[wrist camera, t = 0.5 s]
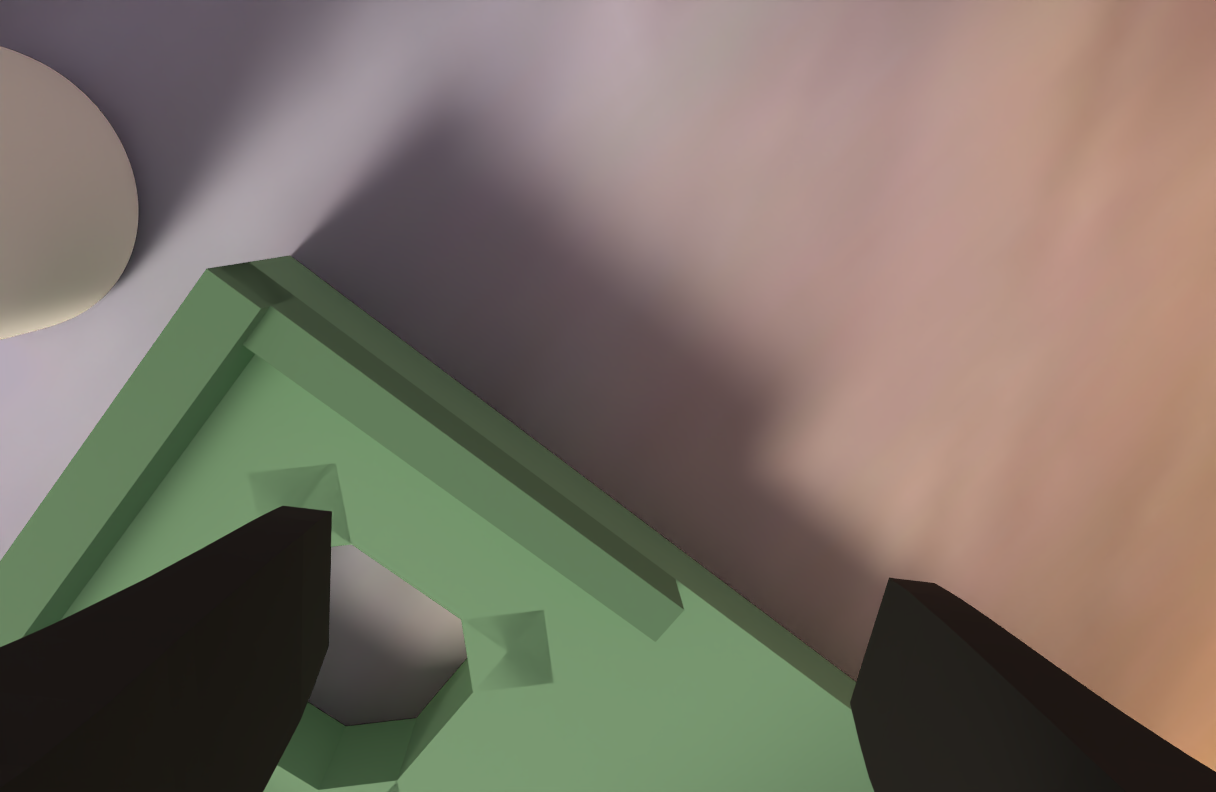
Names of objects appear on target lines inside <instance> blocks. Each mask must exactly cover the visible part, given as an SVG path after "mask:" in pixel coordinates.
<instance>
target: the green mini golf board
mask: <svg viewBox="0 0 1216 792" xmlns="http://www.w3.org/2000/svg"><path fill="white" fill-rule="evenodd" d="M281 506H291V507H299V508H308V509H316V510H325V511H332V531H331V547H333V546H342V545H351V544H352V545H353V546H355V547H356V548H358V549H359V550H360V551H362V552H363V553H365V554H366V555H368V556H369V557H371V558H372V559H374V560H375V561H377V562H378V563H379V564H381V565H382V566H384V567H385V568H387V569H388V570H390V571H391V572H393V573H394V574H395V575H397V576H398V577H400V578H401V579H403V580H404V581H406V582H407V583H409V584H410V585H412V586H413V587H414V588H416V589H417V590H419V591H420V592H422V593H423V594H425V595H426V596H428V597H429V598H430V599H432V600H433V601H435V602H436V603H438V604H439V605H441V606H442V607H444V608H445V609H447V610H448V611H449V612H451V613H452V614H454V615H455V616H457V617H458V618H460V619H461V621H462V627H463V634H464V640H465V646H466V652H467V659H466V660H465V661H464V662H463V664H462V665H461V666H460V667H459V668H458V669H457V671H456V672H455V673H454V674H453V675H452V677H451V678H450V679H449V680H448V681H447V682H446V684H445V685H444V686H443V687H442V688H441V689H440V691H439V692H438V693H437V694H436V695H435V697H434V698H433V699H432V700H431V701H430V702H429V704H428V705H427V706H426V707H425V708H424V709H423V711H422V712H421V713H420V714H419V715H418V717H417V718H413V719H404V720H396V721H387V722H379V723H370V724H362V725H354V726H344V725H343V724H341V723H340V722H338V721H336V720H335V719H333V718H332V717H330V716H329V715H327V714H325V713H324V712H322V711H321V710H319V709H318V708H316V707H314V706H313V705H311V704H310V703H307V705H306V708H305V710H304V713H303V715H302V718H301V720H300V722H299V724H298V726H297V728H296V730H295V732H294V734H293V736H292V738H291V740H290V742H289V744H288V746H287V747H286V749H285V751H284V753H283V755H282V757H281V759H280V761H279V763H278V765H277V767H276V768H275V770H274V772H273V774H272V776H271V778H270V780H269V782H268V784H267V786H266V787H265V789H264V791H263V792H874V790H873V787H872V784H871V782H870V779H869V776H868V772H867V769H866V765H865V762H864V758H863V754H862V751H861V747H860V743H859V739H858V735H857V731H856V727H855V722H854V718H853V714H852V710H851V706H850V701H851V698H852V694H853V691H854V688H855V685H856V682H855V681H854V680H853V679H851V678H850V677H849V676H847V675H846V674H845V673H843V672H842V671H841V670H839V669H838V668H837V667H835V666H834V665H833V664H831V663H830V662H829V661H827V660H826V659H825V658H823V657H822V656H821V655H819V654H818V653H817V652H815V651H814V650H813V649H811V648H810V647H809V646H807V645H806V644H805V643H803V642H802V641H801V640H799V639H798V638H797V637H795V636H794V635H793V634H792V633H790V632H789V631H788V630H786V629H785V628H784V627H782V626H781V625H780V624H778V623H777V622H776V621H774V620H773V619H772V618H770V617H769V616H768V615H766V614H765V613H764V612H762V611H761V610H760V609H758V608H757V607H756V606H754V605H753V604H752V603H750V602H749V601H748V600H746V599H745V598H744V597H742V596H741V595H740V594H738V593H737V592H736V591H734V590H733V589H732V588H730V587H729V586H728V585H727V584H725V583H724V582H723V581H721V580H720V579H719V578H717V577H716V576H715V575H713V574H712V573H711V572H709V571H708V570H707V569H705V568H704V567H703V566H701V565H700V564H699V563H697V562H696V561H695V560H693V559H692V558H691V557H689V556H688V555H687V554H685V553H684V552H683V551H681V550H680V549H679V548H677V547H676V546H675V545H673V544H672V543H671V542H669V541H668V540H667V539H665V538H664V537H663V536H661V535H660V534H659V533H658V532H656V531H655V530H654V529H652V528H651V527H650V526H648V525H647V524H646V523H644V522H643V521H642V520H640V519H639V518H638V517H636V516H635V515H634V514H632V513H631V512H630V511H628V510H627V509H626V508H624V507H623V506H622V505H620V504H619V503H618V502H616V501H615V500H614V499H612V498H611V497H610V496H608V495H607V494H606V493H604V492H603V491H602V490H600V489H599V488H598V487H596V486H595V485H594V484H593V483H591V482H590V481H589V480H587V479H586V478H585V477H583V476H582V475H581V474H579V473H578V472H577V471H575V470H574V469H573V468H571V467H570V466H569V465H567V464H566V463H565V462H563V461H562V460H561V459H559V458H558V457H557V456H555V455H554V454H553V453H551V452H550V451H549V450H547V449H546V448H545V447H543V446H542V445H541V444H539V443H538V442H537V441H535V440H534V439H533V438H531V437H530V436H529V435H527V434H526V433H525V432H524V431H522V430H521V429H520V428H518V427H517V426H516V425H514V424H513V423H512V422H510V421H509V420H508V419H506V418H505V417H504V416H502V415H501V414H500V413H498V412H497V411H496V410H494V409H493V408H492V407H490V406H489V405H488V404H486V403H485V402H484V401H482V400H481V399H480V398H478V397H477V396H476V395H474V394H473V393H472V392H470V391H469V390H468V389H466V388H465V387H464V386H462V385H461V384H460V383H458V382H457V381H456V380H455V379H453V378H452V377H451V376H449V375H448V374H447V373H445V372H444V371H443V370H441V369H440V368H439V367H437V366H436V365H435V364H433V363H432V362H431V361H429V360H428V359H427V358H425V357H424V356H423V355H421V354H420V353H419V352H417V351H416V350H415V349H413V348H412V347H411V346H409V345H408V344H407V343H405V342H404V341H403V340H401V339H400V338H399V337H397V336H396V335H395V334H393V333H392V332H391V331H390V330H388V329H387V328H386V327H384V326H383V325H382V324H380V323H379V322H378V321H376V320H375V319H374V318H372V317H371V316H370V315H368V314H367V313H366V312H364V311H363V310H362V309H360V308H359V307H358V306H356V305H355V304H354V303H352V302H351V301H350V300H348V299H347V298H346V297H344V296H343V295H342V294H340V293H339V292H338V291H336V290H335V289H334V288H332V287H331V286H330V285H328V284H327V283H326V282H324V281H323V280H322V279H321V278H319V277H318V276H317V275H315V274H314V273H313V272H311V271H310V270H309V269H307V268H306V267H305V266H303V265H302V264H301V263H299V262H298V261H297V260H295V259H294V258H293V257H291V256H284V257H278V258H272V259H265V260H259V261H253V262H246V263H240V264H234V265H227V266H221V267H215V268H208V269H206V270H205V272H204V273H203V275H202V276H201V277H200V279H199V280H198V282H197V283H196V285H195V286H194V287H193V289H192V290H191V292H190V293H189V294H188V296H187V297H186V299H185V300H184V302H183V303H182V304H181V306H180V307H179V309H178V310H177V311H176V313H175V314H174V316H173V317H172V319H171V320H170V321H169V323H168V324H167V326H166V327H165V328H164V330H163V331H162V333H161V334H160V336H159V337H158V338H157V340H156V341H155V343H154V344H153V345H152V347H151V348H150V350H149V351H148V353H147V354H146V355H145V357H144V358H143V360H142V361H141V362H140V364H139V365H138V367H137V368H136V370H135V371H134V372H133V374H132V375H131V377H130V378H129V379H128V381H127V382H126V384H125V385H124V387H123V388H122V389H121V391H120V392H119V394H118V395H117V397H116V398H115V399H114V401H113V402H112V404H111V405H110V406H109V408H108V409H107V411H106V412H105V414H104V415H103V416H102V418H101V419H100V421H99V422H98V423H97V425H96V426H95V428H94V429H93V431H92V432H91V433H90V435H89V436H88V438H87V439H86V440H85V442H84V443H83V445H82V446H81V448H80V449H79V450H78V452H77V453H76V455H75V456H74V457H73V459H72V460H71V462H70V463H69V465H68V466H67V467H66V469H65V470H64V472H63V473H62V474H61V476H60V477H59V479H58V480H57V482H56V483H55V484H54V486H53V487H52V489H51V490H50V491H49V493H48V494H47V496H46V497H45V499H44V500H43V501H42V503H41V504H40V506H39V507H38V508H37V510H36V511H35V513H34V514H33V516H32V517H31V518H30V520H29V521H28V523H27V524H26V526H25V527H24V528H23V530H22V531H21V533H20V534H19V535H18V537H17V538H16V540H15V541H14V543H13V544H12V545H11V547H10V548H9V550H8V551H7V552H6V554H5V555H4V557H3V558H2V560H1V561H0V647H2V646H4V645H6V644H9V643H11V642H13V641H16V640H18V639H20V638H23V637H25V636H27V635H30V634H32V633H34V632H36V631H38V630H41V629H43V628H45V627H47V626H50V625H52V624H54V623H56V622H58V621H60V620H62V619H64V618H66V617H68V616H71V615H73V614H75V613H77V612H79V611H81V610H83V609H85V608H87V607H89V606H91V605H93V604H95V603H97V602H99V601H101V600H103V599H105V598H107V597H109V596H111V595H113V594H115V593H117V592H120V591H122V590H124V589H126V588H128V587H130V586H132V585H134V584H136V583H138V582H140V581H142V580H144V579H146V578H148V577H150V576H152V575H153V574H155V573H157V572H159V571H161V570H163V569H165V568H166V567H168V566H170V565H172V564H174V563H176V562H178V561H179V560H181V559H183V558H185V557H187V556H189V555H190V554H192V553H194V552H196V551H198V550H200V549H202V548H203V547H205V546H207V545H209V544H211V543H213V542H214V541H216V540H218V539H220V538H222V537H223V536H225V535H227V534H229V533H231V532H232V531H234V530H236V529H238V528H240V527H241V526H243V525H245V524H247V523H249V522H251V521H253V520H254V519H256V518H258V517H260V516H262V515H264V514H266V513H268V512H270V511H272V510H274V509H276V508H278V507H281Z"/></svg>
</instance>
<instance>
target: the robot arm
mask: <svg viewBox="0 0 1216 792" xmlns="http://www.w3.org/2000/svg"><path fill="white" fill-rule="evenodd" d="M331 531H332V511H325V510H316V509H308V508H299V507H291V506H281V507H278V508H276V509H274V510H272V511H270V512H268V513H266V514H264V515H262V516H260V517H258V518H256V519H254V520H253V521H251V522H249V523H247V524H245V525H243V526H241V527H240V528H238V529H236V530H234V531H232V532H231V533H229V534H227V535H225V536H223V537H222V538H220V539H218V540H216V541H214V542H213V543H211V544H209V545H207V546H205V547H203V548H202V549H200V550H198V551H196V552H194V553H192V554H190V555H189V556H187V557H185V558H183V559H181V560H179V561H178V562H176V563H174V564H172V565H170V566H168V567H166V568H165V569H163V570H161V571H159V572H157V573H155V574H153V575H152V576H150V577H148V578H146V579H144V580H142V581H140V582H138V583H136V584H134V585H132V586H130V587H128V588H126V589H124V590H122V591H120V592H117V593H115V594H113V595H111V596H109V597H107V598H105V599H103V600H101V601H99V602H97V603H95V604H93V605H91V606H89V607H87V608H85V609H83V610H81V611H79V612H77V613H75V614H73V615H71V616H68V617H66V618H64V619H62V620H60V621H58V622H56V623H54V624H52V625H50V626H47V627H45V628H43V629H41V630H38V631H36V632H34V633H32V634H30V635H27V636H25V637H23V638H20V639H18V640H16V641H13V642H11V643H9V644H6V645H4V646H2V647H0V792H263V791H264V789H265V787H266V786H267V784H268V782H269V780H270V778H271V776H272V774H273V772H274V770H275V768H276V767H277V765H278V763H279V761H280V759H281V757H282V755H283V753H284V751H285V749H286V747H287V746H288V744H289V742H290V740H291V738H292V736H293V734H294V732H295V730H296V728H297V726H298V724H299V722H300V720H301V718H302V715H303V713H304V710H305V708H306V705H307V703H308V700H309V697H310V695H311V692H312V690H313V687H314V685H315V682H316V679H317V676H318V674H319V671H320V668H321V665H322V663H323V660H324V657H325V655H326V652H327V649H328V646H329V608H330V570H331ZM850 706H851V710H852V714H853V718H854V722H855V727H856V731H857V735H858V739H859V743H860V747H861V751H862V754H863V758H864V762H865V765H866V769H867V772H868V776H869V779H870V782H871V784H872V787H873V790H874V792H1216V772H1215V771H1213V770H1212V769H1210V768H1208V767H1207V766H1205V765H1203V764H1202V763H1200V762H1199V761H1197V760H1195V759H1194V758H1192V757H1190V756H1189V755H1187V754H1186V753H1184V752H1183V751H1181V750H1179V749H1178V748H1176V747H1175V746H1173V745H1172V744H1170V743H1169V742H1167V741H1166V740H1164V739H1163V738H1161V737H1160V736H1158V735H1157V734H1155V733H1153V732H1152V731H1150V730H1149V729H1147V728H1146V727H1144V726H1143V725H1141V724H1140V723H1138V722H1137V721H1135V720H1134V719H1132V718H1131V717H1129V716H1127V715H1126V714H1124V713H1123V712H1121V711H1120V710H1119V709H1117V708H1116V707H1114V706H1113V705H1111V704H1110V703H1108V702H1107V701H1105V700H1104V699H1102V698H1101V697H1100V696H1098V695H1097V694H1095V693H1094V692H1092V691H1091V690H1089V689H1088V688H1087V687H1085V686H1084V685H1082V684H1081V683H1079V682H1078V681H1077V680H1075V679H1074V678H1072V677H1071V676H1069V675H1068V674H1067V673H1065V672H1064V671H1062V670H1061V669H1060V668H1058V667H1057V666H1055V665H1054V664H1052V663H1051V662H1050V661H1048V660H1047V659H1045V658H1044V657H1043V656H1041V655H1040V654H1038V653H1037V652H1036V651H1034V650H1033V649H1031V648H1030V647H1029V646H1027V645H1026V644H1025V643H1023V642H1022V641H1020V640H1019V639H1018V638H1016V637H1015V636H1013V635H1012V634H1011V633H1009V632H1008V631H1006V630H1005V629H1004V628H1002V627H1001V626H999V625H998V624H997V623H995V622H994V621H992V620H991V619H989V618H988V617H987V616H985V615H984V614H982V613H981V612H979V611H978V610H976V609H975V608H973V607H972V606H971V605H969V604H968V603H966V602H965V601H963V600H962V599H960V598H958V597H957V596H955V595H954V594H952V593H950V592H949V591H947V590H945V589H944V588H942V587H940V586H938V585H937V584H935V583H928V582H920V581H911V580H903V579H895V578H889V580H888V583H887V586H886V589H885V593H884V596H883V599H882V602H881V605H880V609H879V612H878V615H877V618H876V621H875V624H874V628H873V631H872V634H871V637H870V640H869V643H868V647H867V650H866V653H865V656H864V659H863V663H862V666H861V669H860V672H859V675H858V678H857V682H856V685H855V688H854V691H853V694H852V698H851V701H850Z"/></svg>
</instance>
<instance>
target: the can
mask: <svg viewBox="0 0 1216 792" xmlns="http://www.w3.org/2000/svg"><path fill="white" fill-rule="evenodd" d="M138 214H139V213H138V195H137V189H136V183H135V179H134V175H133V171H132V168H131V165H130V162H129V159H128V157H127V154H126V152H125V150H124V148H123V145H122V143H121V141H120V140H119V138H118V136H117V134H116V132H115V131H114V129H113V128H112V126H111V125H110V123H109V122H108V120H107V119H106V118H105V116H104V115H103V114H102V112H101V111H100V110H99V109H98V107H97V106H96V105H95V104H94V103H93V102H92V101H91V100H90V99H89V98H88V97H87V96H86V95H85V94H84V93H83V92H82V91H81V90H80V89H79V88H78V87H76V86H75V85H74V84H73V83H72V82H70V81H69V80H68V79H66V78H65V77H64V76H62V75H61V74H59V73H58V72H56V71H55V70H53V69H51V68H50V67H48V66H46V65H44V64H43V63H41V62H39V61H37V60H35V59H33V58H30V57H28V56H26V55H23V54H21V53H18V52H16V51H13V50H10V49H7V48H4V47H1V46H0V340H1V339H5V338H9V337H13V336H17V335H21V334H25V333H29V332H33V331H36V330H40V329H43V328H47V327H50V326H54V325H57V324H59V323H62V322H64V321H67V320H69V319H72V318H74V317H76V316H78V315H80V314H81V313H83V312H85V311H86V310H88V309H89V308H91V307H92V306H93V305H95V304H96V303H97V302H98V301H100V300H101V299H102V298H103V297H104V296H105V295H106V294H107V293H108V292H109V291H110V290H111V288H112V287H113V286H114V285H115V283H116V282H117V281H118V279H119V278H120V276H121V275H122V273H123V271H124V269H125V267H126V265H127V263H128V261H129V259H130V256H131V253H132V250H133V247H134V244H135V240H136V235H137V228H138Z"/></svg>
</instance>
